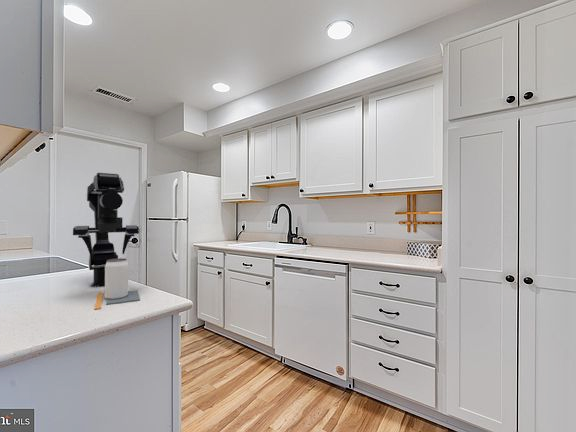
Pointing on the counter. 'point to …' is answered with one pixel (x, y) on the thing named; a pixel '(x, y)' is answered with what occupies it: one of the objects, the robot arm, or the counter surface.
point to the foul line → (98, 301)
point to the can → (116, 278)
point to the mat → (125, 298)
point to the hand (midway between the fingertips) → (107, 255)
